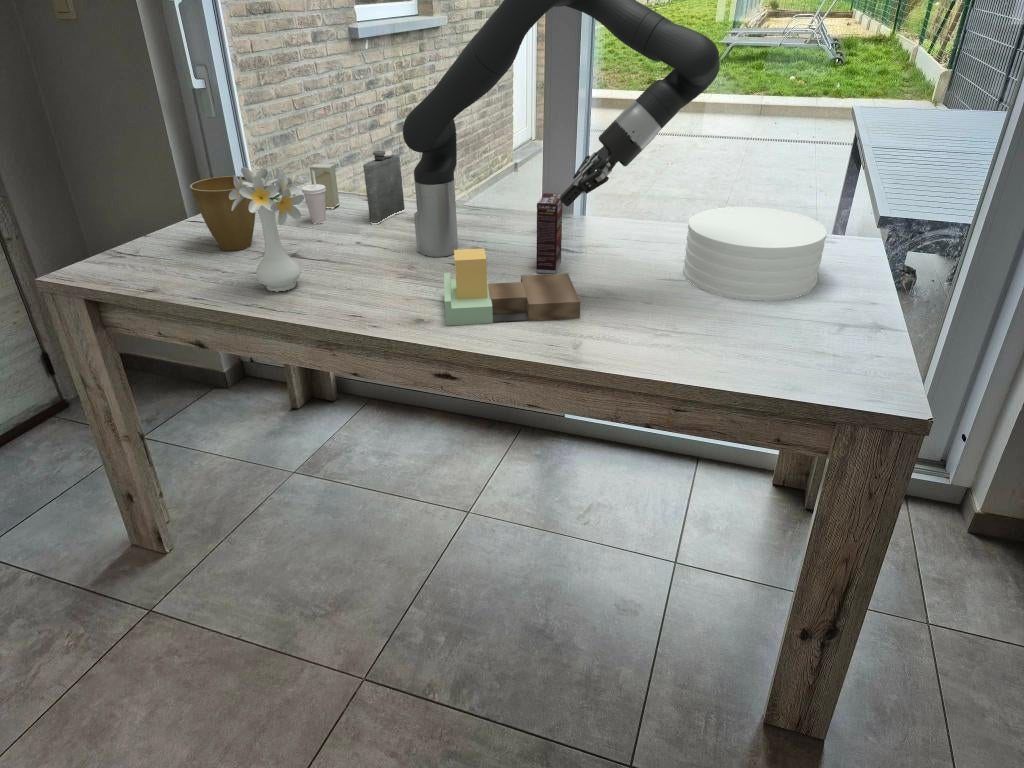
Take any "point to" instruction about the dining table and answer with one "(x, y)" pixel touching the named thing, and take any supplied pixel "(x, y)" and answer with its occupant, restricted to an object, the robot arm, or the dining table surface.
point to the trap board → (535, 299)
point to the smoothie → (315, 201)
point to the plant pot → (224, 212)
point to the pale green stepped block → (465, 306)
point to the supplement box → (549, 233)
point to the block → (471, 273)
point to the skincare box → (326, 182)
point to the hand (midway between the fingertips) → (563, 202)
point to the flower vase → (271, 223)
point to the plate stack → (753, 252)
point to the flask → (383, 186)
